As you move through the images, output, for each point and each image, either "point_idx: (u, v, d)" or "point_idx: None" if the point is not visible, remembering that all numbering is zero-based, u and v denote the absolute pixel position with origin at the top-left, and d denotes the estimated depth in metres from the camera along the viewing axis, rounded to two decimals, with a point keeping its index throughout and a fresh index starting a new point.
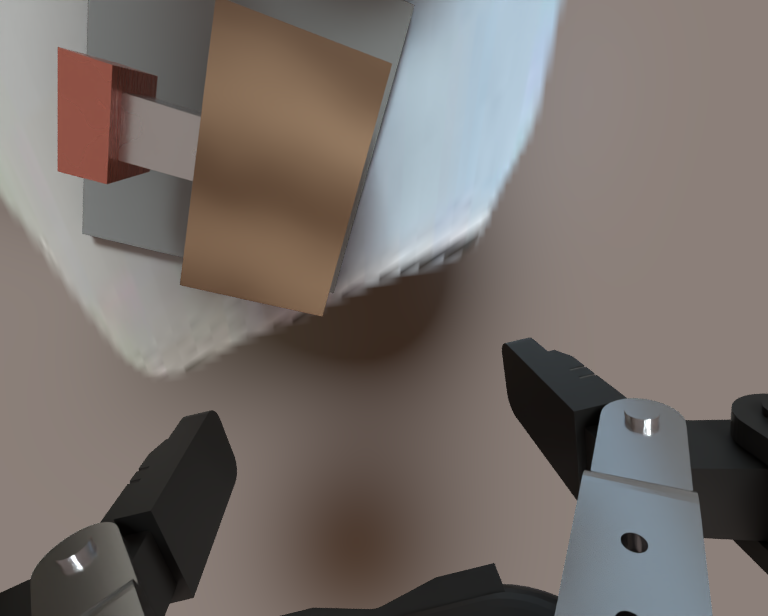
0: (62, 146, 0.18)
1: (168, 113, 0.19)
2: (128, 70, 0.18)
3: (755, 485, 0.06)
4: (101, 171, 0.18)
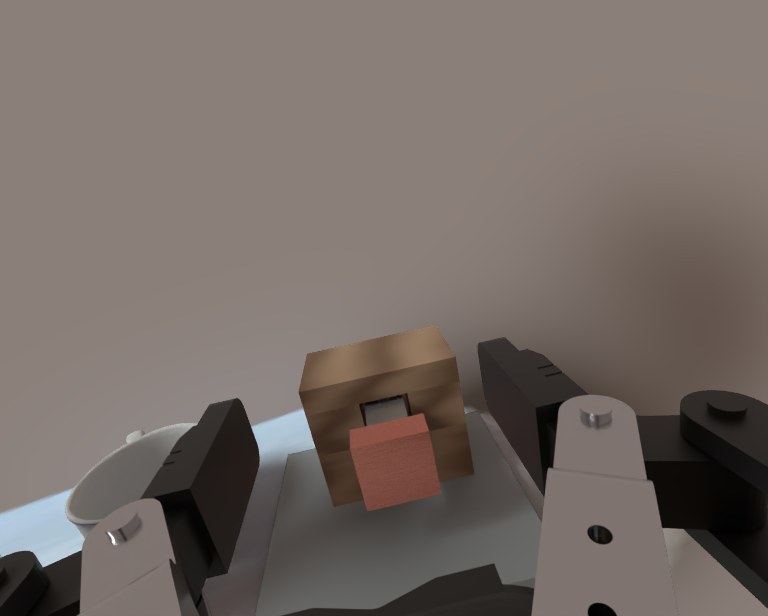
0: (410, 433, 0.25)
1: (370, 421, 0.29)
2: None
3: (698, 477, 0.06)
4: (416, 417, 0.27)
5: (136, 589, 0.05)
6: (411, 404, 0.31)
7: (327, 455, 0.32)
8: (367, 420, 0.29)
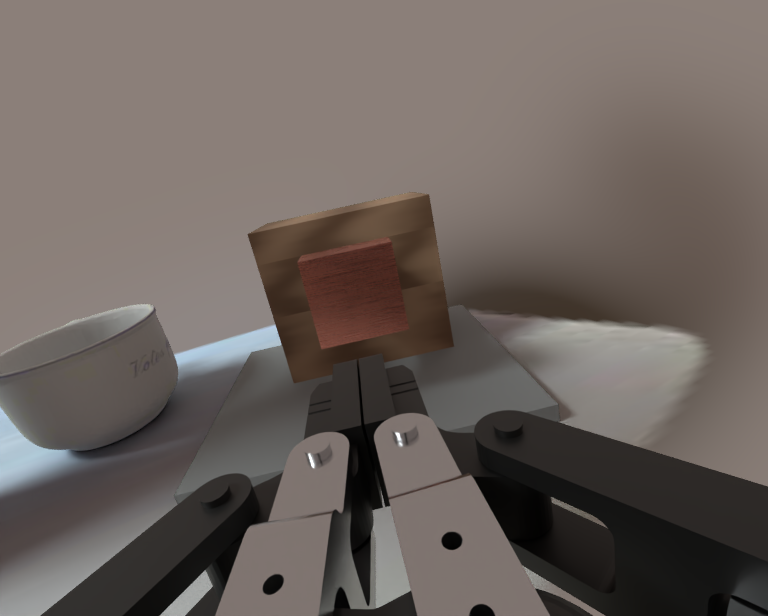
0: (370, 245, 0.21)
1: None
2: None
3: (480, 490, 0.07)
4: (379, 239, 0.23)
5: (301, 527, 0.05)
6: None
7: (284, 316, 0.28)
8: None
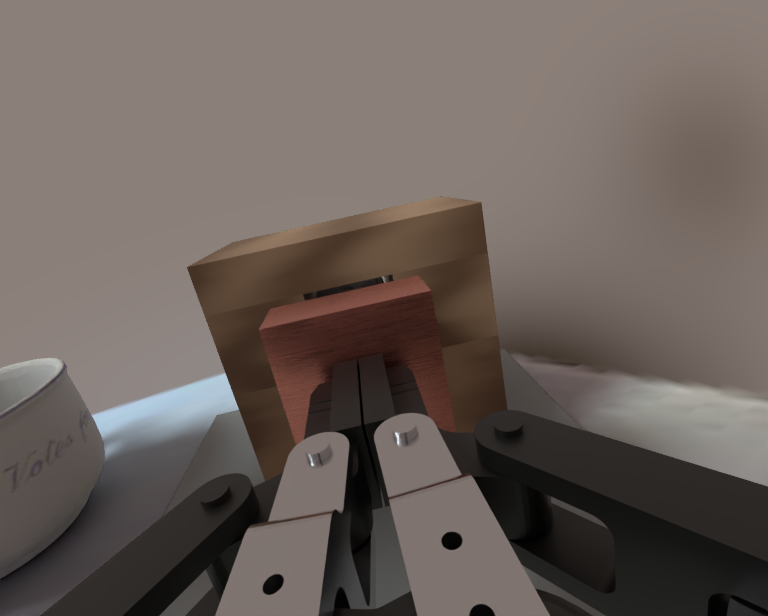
0: (391, 297, 0.12)
1: None
2: None
3: (479, 490, 0.07)
4: (405, 280, 0.13)
5: (301, 527, 0.05)
6: None
7: (251, 393, 0.18)
8: None
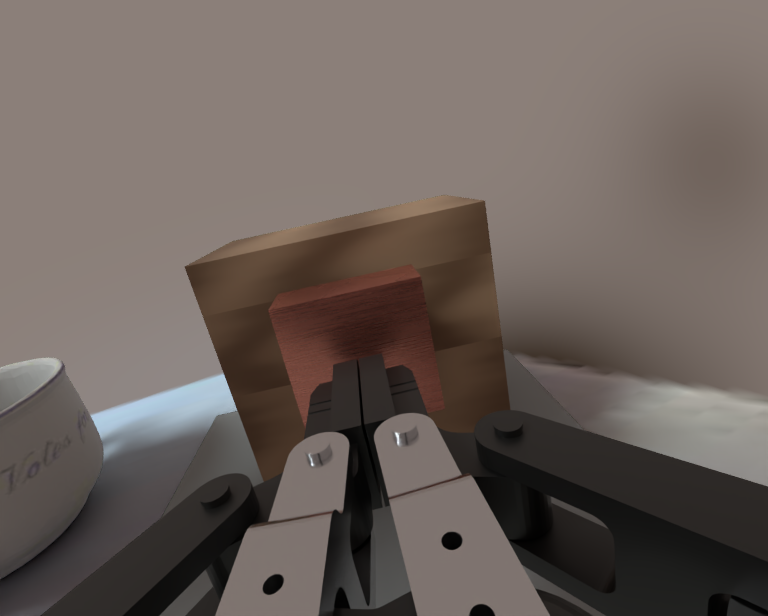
0: (386, 282, 0.13)
1: None
2: None
3: (480, 490, 0.07)
4: (399, 268, 0.15)
5: (301, 527, 0.05)
6: None
7: (250, 394, 0.18)
8: None
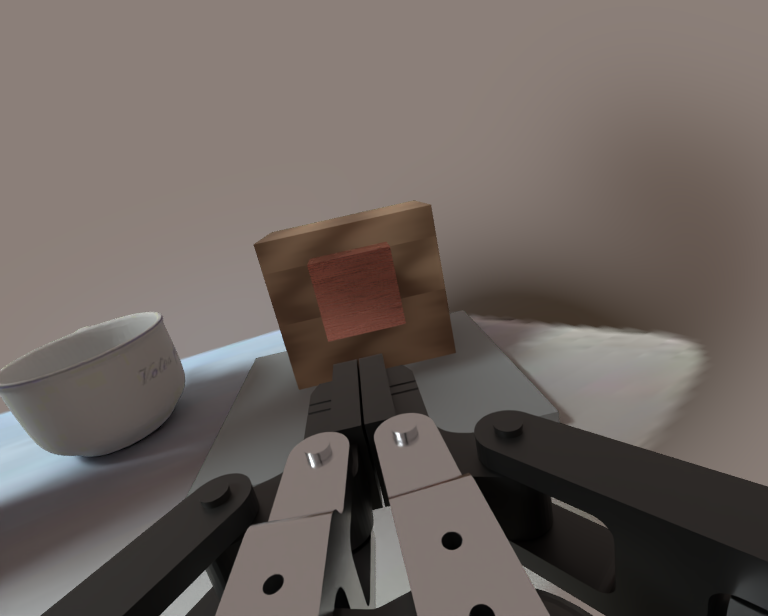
0: (371, 249, 0.24)
1: None
2: None
3: (480, 490, 0.07)
4: (379, 243, 0.26)
5: (300, 527, 0.05)
6: None
7: (289, 324, 0.29)
8: None
